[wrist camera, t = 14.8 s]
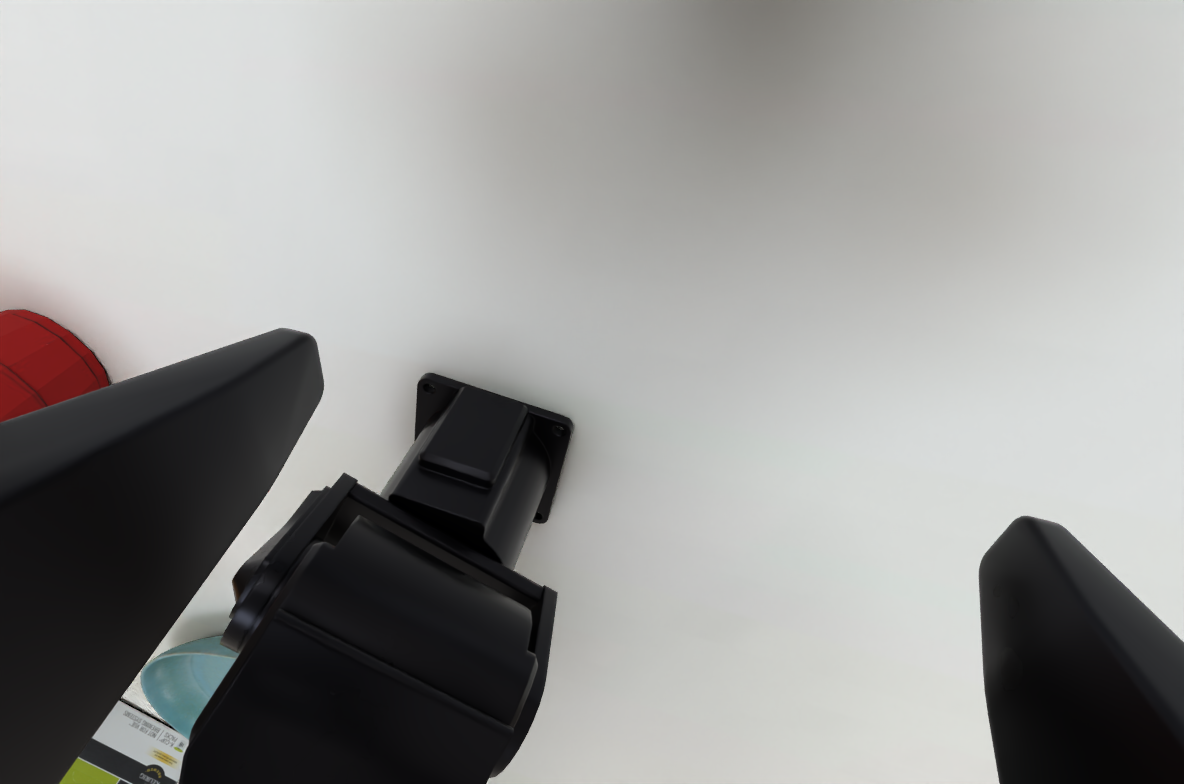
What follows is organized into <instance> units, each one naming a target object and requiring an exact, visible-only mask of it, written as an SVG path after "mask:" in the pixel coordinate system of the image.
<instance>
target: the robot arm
mask: <svg viewBox="0 0 1184 784" xmlns="http://www.w3.org/2000/svg"><path fill="white" fill-rule="evenodd" d="M429 384H431V385H433V387H434V388H433V387H431V386H430V385H429ZM323 390H324V380H323V374H322V369H321V363H320V357H319V352H318V346H317V342H316V340H315V339H314V337H313V336H311V335H310V334H307V333H304V332H300V331H296V330H292V329H287V328H279V329H276V330H273V331H270V332H267V333H264V334H261V335H258V336H255V337H252V338H249V339H246V340H243V341H240V342H237V343H234V344H231V345H228V346H226V347H223V348H220V349H217V350H214V351H211V352H208V353H205V354H202V355H199V356H196V357H193V358H190V359H187V360H184V361H181V362H178V363H175V364H172V365H169V366H166V367H163V368H160V369H157V370H154V371H151V372H149V373H146V374H143V375H140V376H137V377H134V378H131V379H128V380H125V381H122V382H119V383H116V384H113V385H110V386H107V387H104V388H101V389H98V390H95V391H92V392H89V393H86V394H83V395H80V396H77V397H75V398H72V399H69V400H66V401H63V402H60V403H57V404H54V405H51V406H48V407H45V408H42V409H39V410H36V411H33V412H30V413H27V414H24V415H21V416H18V417H15V418H12V419H9V420H6V421H3V422H1V423H0V784H59V783H60V782H61V780H62V779H63V777H64V776H65V775H66V773H67V772H68V770H69V769H70V768H71V766H72V765H73V764H74V762H75V761H76V759H77V758H78V757H79V755H80V754H81V752H82V751H83V750H84V748H85V747H86V745H87V744H88V743H89V741H90V740H91V738H92V737H93V736H94V734H95V733H96V732H97V730H98V729H99V727H100V726H101V725H102V723H103V722H104V720H105V719H106V718H107V716H108V715H109V713H110V712H111V711H112V709H113V708H114V706H115V705H116V704H117V702H118V701H119V700H120V698H121V697H122V695H123V694H124V693H125V691H126V690H127V688H128V687H129V686H130V684H131V683H132V681H133V680H134V679H135V677H136V676H137V674H138V673H139V672H140V670H141V669H142V668H143V666H144V665H145V663H146V662H147V661H148V659H149V658H150V656H151V655H152V654H153V652H154V651H155V649H156V648H157V647H158V645H159V644H160V643H161V641H162V640H163V638H164V637H165V636H166V634H167V633H168V631H169V630H170V629H171V627H172V626H173V624H174V623H175V622H176V620H177V619H178V617H179V616H180V615H181V613H182V612H183V611H184V609H185V608H186V606H187V605H188V604H189V602H190V601H191V599H192V598H193V597H194V595H195V594H196V592H197V591H198V590H199V588H200V587H201V585H202V584H203V583H204V581H205V580H206V579H207V577H208V576H209V574H210V573H211V572H212V570H213V569H214V567H215V566H216V565H217V563H218V562H219V560H220V559H221V558H222V556H223V555H224V553H225V552H226V551H227V549H228V548H229V547H230V545H231V544H232V542H233V541H234V540H235V538H236V537H237V535H238V534H239V533H240V531H241V530H242V528H243V527H244V526H245V524H246V523H247V521H248V520H249V519H250V517H251V516H252V515H253V513H254V512H255V510H256V509H257V508H258V506H259V505H260V503H261V502H262V500H263V499H264V497H265V496H266V494H267V493H268V491H269V490H270V488H271V487H272V485H273V483H274V482H275V480H276V478H277V477H278V475H279V473H280V471H281V470H282V468H283V466H284V464H285V462H286V461H287V459H288V457H289V455H290V454H291V452H292V450H293V448H294V446H295V445H296V443H297V441H298V439H299V437H300V436H301V434H302V432H303V430H304V429H305V427H306V425H307V423H308V421H309V420H310V418H311V416H312V414H313V413H314V411H315V409H316V407H317V405H318V404H319V402H320V400H321V397H322V394H323ZM557 426H559V427H562V428H564V430H562V429H559V428H558V427H557ZM573 429H574V425H573V423H572V421H571V420H570V419H569V418H567V417H565V416H563V415H560V414H557V413H554V412H550V411H547V410H544V409H541V408H538V407H535V406H532V405H529V404H526V403H523V402H520V401H517V400H514V399H511V398H508V397H504V396H501V395H498V394H495V393H492V392H489V391H486V390H483V389H480V388H477V387H474V386H471V385H468V384H465V383H462V382H458V381H455V380H452V379H449V378H446V377H443V376H440V375H437V374H434V373H426V374H424V375H423V376H422V378H421V379H420V380H419V382H418V386H417V404H416V423H415V442H414V444H413V445H412V447H411V448H410V450H409V451H408V453H407V454H406V456H405V457H404V459H403V460H402V462H401V463H400V465H399V466H398V468H397V469H396V471H395V472H394V474H393V475H392V477H391V478H390V480H389V481H388V483H387V484H386V486H385V487H384V489H383V490H382V492H381V494H380V495H378V494H376V493H374V492H372V491H371V490H369V489H367V488H365V487H364V486H362V485H360V484H358V483H357V482H358V480H356V479H355V478H353V477H351V476H349V475H348V474H346V473H343V474H342V476H341V477H340V478H339V479H338V480H337V482H336V483H335V484H334V485H333V486H332V488H330V487H328V486H326V487H325V488H324V489H323V490H322V491H311V493H310V494H309V495H308V497H307V498H306V499H305V500H304V502H303V503H302V504H301V506H300V507H299V508H298V509H297V511H296V512H295V513H294V514H293V516H292V517H291V518H290V519H289V521H288V522H287V523H286V524H285V525H284V526H283V527H282V528H281V529H280V530H279V531H278V532H277V533H276V534H275V535H274V536H273V537H272V538H271V539H270V540H269V541H268V542H267V543H266V544H264V545H263V546H262V547H261V548H260V549H259V550H258V551H257V552H256V553H255V554H254V555H253V556H252V557H250V558H249V559H248V560H247V561H246V562H245V563H244V564H243V565H242V566H241V568H240V569H239V570H238V572H237V573H236V575H235V576H234V578H233V580H232V585H233V590H234V595H235V601H236V604H235V606H234V607H233V609H232V611H231V613H230V616H229V617H230V618H231V619H232V620H231V621H230V623H229V625H228V627H227V628H226V630H225V632H224V634H223V636H222V638H221V640H220V645H222V646H224V647H226V648H228V649H230V650H232V651H234V652H236V653H239V656H238V657H237V659H236V660H235V662H234V663H233V665H232V666H231V668H230V669H229V671H228V672H227V674H226V675H225V677H224V678H223V680H222V682H221V683H220V685H219V686H218V688H217V689H216V691H215V692H214V694H213V695H212V697H211V698H210V700H209V701H208V703H207V704H206V706H205V707H204V709H203V710H202V712H201V714H200V715H199V717H198V718H197V720H196V721H195V723H194V725H193V727H192V729H191V733H190V737H189V745H188V747H187V749H186V751H185V753H184V756H183V761H182V767H181V773H180V779H179V784H486V783H487V781H488V779H489V778H492V777H496V776H497V775H498V774H499V773H501V772H502V771H503V770H504V769H505V768H506V766H507V765H508V764H509V763H510V762H511V760H512V759H513V757H514V756H515V754H516V753H517V751H518V750H519V748H520V746H521V744H522V743H523V741H524V739H525V737H526V735H527V733H528V731H529V729H530V727H531V725H532V723H533V720H534V718H535V715H536V713H537V710H538V707H539V705H540V702H541V698H542V695H543V691H544V687H545V682H546V676H547V669H548V661H549V654H550V647H551V639H552V632H553V624H554V617H555V609H556V602H557V592H556V591H554V590H552V589H550V588H549V587H547V586H545V585H544V586H543V587H542V586H540V585H538V584H536V583H535V582H533V581H531V580H529V579H527V578H526V577H524V576H522V575H520V574H519V573H517V572H515V571H513V569H514V567H515V564H516V562H517V559H518V557H519V554H520V552H521V549H522V547H523V544H524V541H525V539H526V536H527V534H528V531H529V529H530V526H531V524H532V522H535V523H539V524H540V523H545V522H546V521H547V520H548V517H549V515H550V512H551V508H552V504H553V501H554V497H555V494H556V490H557V487H558V483H559V479H560V476H561V472H562V469H563V465H564V461H565V458H566V454H567V451H568V447H569V443H570V440H571V436H572V433H573ZM979 591H980V612H981V633H982V655H983V674H984V686H985V696H986V703H987V710H988V717H989V723H990V729H991V735H992V741H993V747H994V753H995V759H996V765H997V771H998V777H999V783H1000V784H1184V642H1183V641H1182V640H1181V639H1180V638H1179V637H1178V636H1177V635H1176V634H1175V633H1173V632H1172V631H1171V630H1170V629H1169V628H1168V627H1167V626H1166V625H1165V624H1164V623H1163V622H1162V621H1161V620H1160V619H1159V618H1158V617H1157V616H1156V615H1155V614H1154V613H1153V612H1152V611H1151V610H1150V609H1149V608H1148V607H1146V606H1145V605H1144V604H1143V603H1142V602H1141V601H1140V600H1139V599H1138V598H1137V597H1136V596H1135V595H1134V594H1133V593H1132V592H1131V591H1130V590H1129V589H1128V588H1127V587H1126V586H1125V585H1124V584H1123V583H1122V582H1121V581H1119V580H1118V579H1117V578H1116V577H1115V576H1114V575H1113V574H1112V573H1111V572H1110V571H1109V570H1108V569H1107V568H1106V567H1105V566H1104V565H1103V564H1102V563H1101V562H1100V561H1099V560H1098V559H1097V558H1096V557H1095V556H1094V555H1092V554H1091V553H1090V552H1089V551H1088V550H1087V549H1086V548H1085V547H1084V546H1083V545H1082V544H1081V543H1080V542H1079V541H1078V540H1077V539H1076V538H1075V537H1074V536H1073V535H1072V534H1071V533H1070V532H1069V531H1068V530H1067V529H1065V528H1064V527H1063V526H1061V525H1060V524H1057V523H1054V522H1051V521H1047V520H1043V519H1039V518H1035V517H1031V516H1021V517H1019V518H1017V519H1015V520H1014V521H1013V522H1012V523H1011V524H1010V525H1009V527H1008V528H1007V529H1006V530H1005V531H1004V532H1003V534H1002V535H1001V536H1000V537H999V538H998V539H997V541H996V542H995V543H994V544H993V545H992V546H991V547H990V549H989V550H988V551H987V552H986V553H985V555H984V556H983V558H982V561H981V564H980V568H979Z"/></svg>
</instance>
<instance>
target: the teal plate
mask: <svg viewBox="0 0 1184 784" xmlns="http://www.w3.org/2000/svg"><path fill="white" fill-rule="evenodd" d="M221 638H222V636H216V637H210V638H204V639H199V640H195V641H192V642H188V643H185V644H182V645H179V646H177V647H174V648H172V649H170V650H168V651H166V652H164V653H162V654H160V655H159V656H157V657H156V658H154V659H153V660H151V661H150V662H148V663H147V664H146V665H145V666H144V668H143V670H142V672H141V676H140V679H141V687H142V690H143V692H144V694H145V696H146V698H147V700H148V701H149V703H150V704H151V705H152V707H153V708H154V709H155V711H156V712H157V713H158V714H159V715H160V716H161V717H162V718H163V719H164V720H165V721H166V722H167V723H168V724H169V725H171V726H172V727H173V728H174V729H175V730H176V731H177V732H179V733H180V734H181V735H183V736H184V737H185V738H187V739H188V740H189V737H190V733H191V729H192V727H193V725H194V723H195V721H196V720H197V718H198V717H199V715H200V714H201V712H202V710H203V709H204V707H205V706H206V704H207V703H208V701H209V700H210V698H211V697H212V695H213V694H214V692H215V691H216V689H217V688H218V686H219V685H220V683H221V682H222V680H223V678H224V677H225V675H226V674H227V672H228V671H229V669H230V668H231V666H232V665H233V663H234V662H235V660H236V659H237V657H238V656H239V653H236V652H234V651H232V650H230V649H228V648H226V647H224V646H222V645H220V640H221Z"/></svg>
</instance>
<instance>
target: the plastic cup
mask: <svg viewBox="0 0 1184 784" xmlns="http://www.w3.org/2000/svg"><path fill="white" fill-rule="evenodd" d="M107 386H109V383H108V380H107V377H106V374H105V371H104V369H103V368H102V366H101V365H100V363H99V362H98V361H97V359H96V358H95V356H94V355H93V354H92V352H91V351H90V350H89V349H88V348H87V347H86V346H85V345H84V344H83V343H81V342H80V341H79V340H78V339H77V338H76V337H75V336H74V335H73V334H72V333H71V332H69V331H68V330H66V329H64V328H63V327H61V326H60V325H58V324H56V323H55V322H53V321H52V320H50V319H48V318H47V317H44V316H41V315H38V314H35V313H33V312H30V311H27V310H5V311H2V312H0V423H1V422H3V421H6V420H9V419H12V418H15V417H18V416H21V415H24V414H27V413H30V412H33V411H36V410H39V409H42V408H45V407H48V406H51V405H54V404H57V403H60V402H63V401H66V400H69V399H72V398H75V397H77V396H80V395H83V394H86V393H89V392H92V391H95V390H98V389H101V388H104V387H107Z"/></svg>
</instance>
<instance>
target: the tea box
mask: <svg viewBox="0 0 1184 784" xmlns="http://www.w3.org/2000/svg"><path fill="white" fill-rule="evenodd" d="M188 745H189V740H188V739H187V738H185V737H184V736H183V735H181V734H180V733H179V732H177V731H175V730H173V729H171V728H169V727H167V726H166V725H164V724H162V723H160V722H158V721H156V720H154V719H153V718H151V717H149V716H147V715H145V714H143V713H141V712H140V711H138V710H136V709H134V708H132V707H130V706H128V705H127V704H125V703H123V702H121V701H118V702H117V704H116V705H115V706H114V708H113V709H112V711H111V712H110V713H109V715H108V716H107V718H106V719H105V720H104V722H103V723H102V725H101V726H100V727H99V729H98V730H97V732H96V733H95V734H94V736H93V737H92V738H91V740H90V741H89V743H88V744H87V745H86V747H85V748H84V750H83V751H82V752H81V754H80V755H79V757H78V758H77V759H76V761H75V762H74V764H73V765H72V766H71V768H70V769H69V770H68V772H67V773H66V775H65V776H64V777H63V779H62V780H61V782H60V783H59V784H178V782H179V779H180V773H181V767H182V761H183V756H184V753H185V751H186V749H187V747H188Z"/></svg>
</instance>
